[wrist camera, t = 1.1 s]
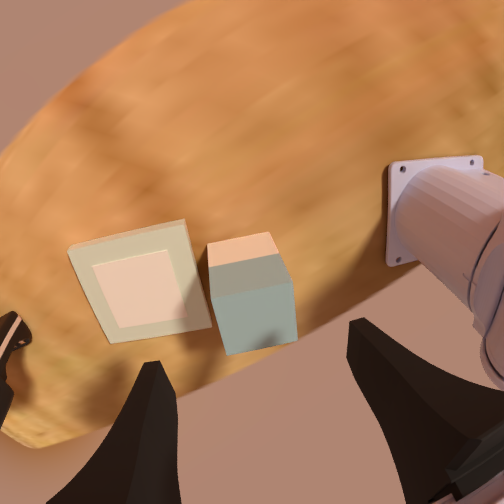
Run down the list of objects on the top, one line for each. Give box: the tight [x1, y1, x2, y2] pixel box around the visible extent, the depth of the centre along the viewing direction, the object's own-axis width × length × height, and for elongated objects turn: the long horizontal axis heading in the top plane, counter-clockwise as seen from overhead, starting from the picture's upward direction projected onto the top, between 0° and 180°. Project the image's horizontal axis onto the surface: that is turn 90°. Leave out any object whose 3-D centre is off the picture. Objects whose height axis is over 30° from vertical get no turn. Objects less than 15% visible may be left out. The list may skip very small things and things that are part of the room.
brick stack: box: [207, 232, 298, 356], centre depth 19 cm, size 4×4×6 cm
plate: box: [67, 219, 212, 344], centre depth 21 cm, size 8×8×1 cm
